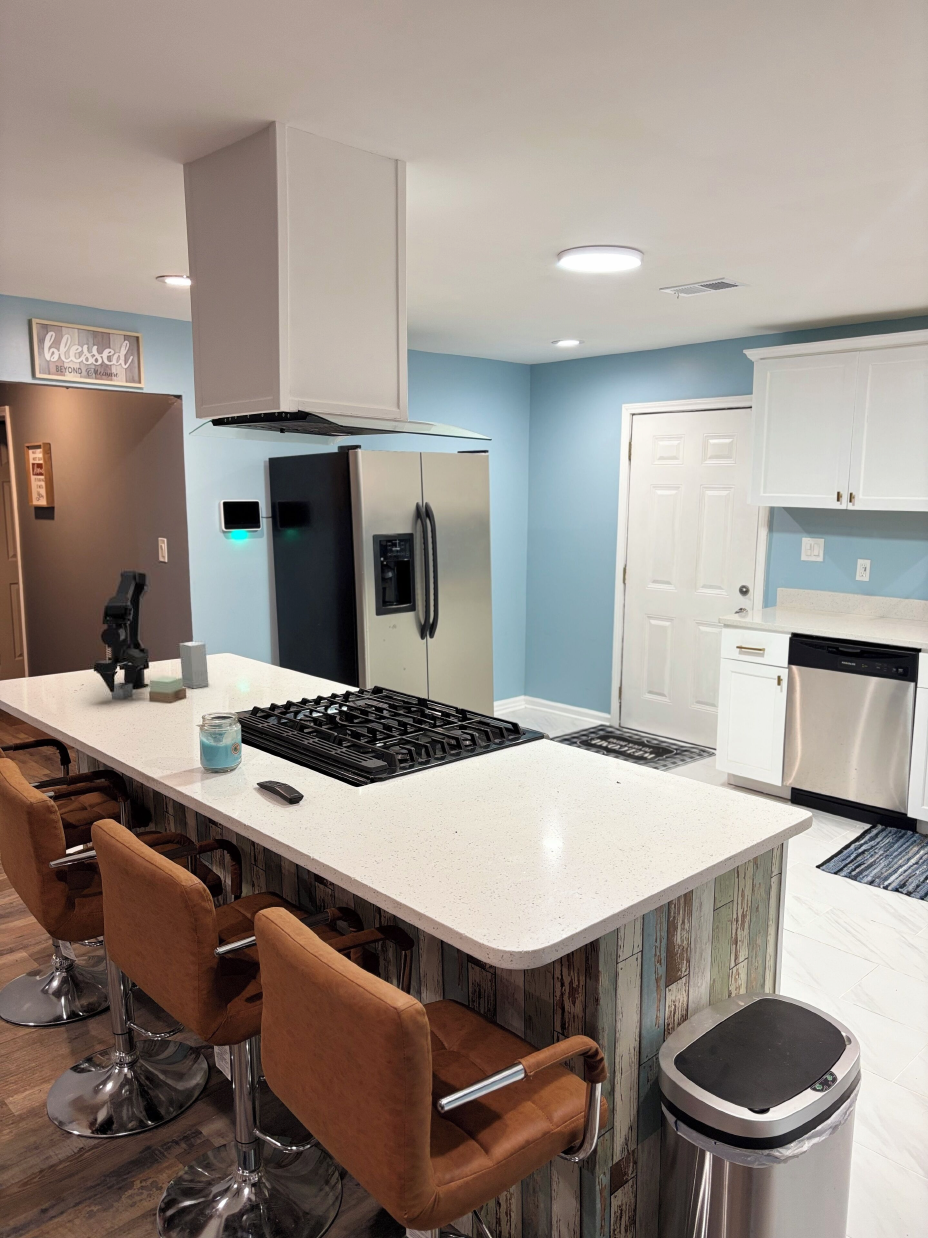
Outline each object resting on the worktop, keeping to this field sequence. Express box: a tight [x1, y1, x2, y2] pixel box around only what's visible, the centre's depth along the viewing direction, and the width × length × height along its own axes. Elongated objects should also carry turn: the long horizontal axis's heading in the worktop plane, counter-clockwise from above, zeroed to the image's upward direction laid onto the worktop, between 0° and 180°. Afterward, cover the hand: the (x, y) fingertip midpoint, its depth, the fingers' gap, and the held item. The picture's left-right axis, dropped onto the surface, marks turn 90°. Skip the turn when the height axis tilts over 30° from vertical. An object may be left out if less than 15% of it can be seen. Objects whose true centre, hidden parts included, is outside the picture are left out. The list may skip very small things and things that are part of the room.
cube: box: [110, 682, 134, 701], centre depth 287 cm, size 4×4×4 cm
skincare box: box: [179, 641, 210, 689], centre depth 304 cm, size 8×6×15 cm
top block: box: [149, 675, 184, 693], centre depth 284 cm, size 7×7×4 cm
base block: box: [148, 687, 187, 704], centre depth 285 cm, size 8×8×4 cm
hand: (122, 689), depth 287 cm, fingers open, 9 cm apart
